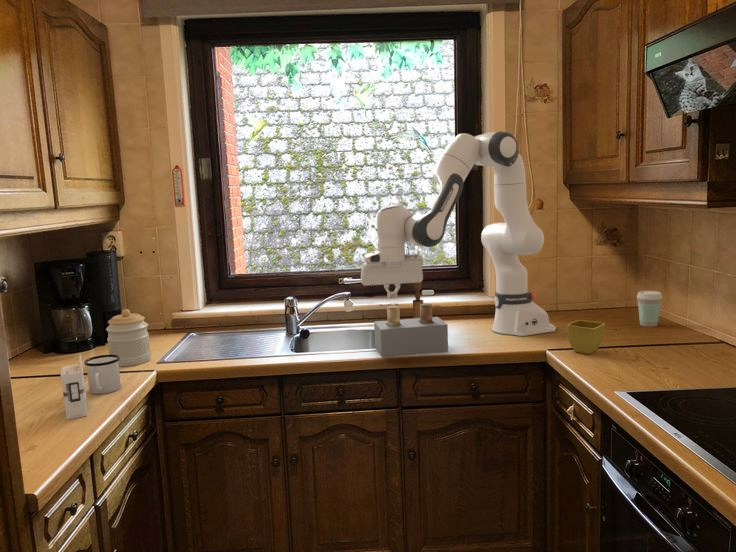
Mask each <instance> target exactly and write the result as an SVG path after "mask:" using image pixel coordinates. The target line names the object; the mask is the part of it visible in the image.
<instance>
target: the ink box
mask: <svg viewBox="0 0 736 552" xmlns="http://www.w3.org/2000/svg"><path fill="white" fill-rule="evenodd" d="M81 353H82V352H81ZM81 353H79V358H78V360H79V361H78V362H79V364H71V365H65V366H62V367H61V371H60V381H61V387H62V395H63V402H64V403H63V404H64V411H65V418H66V419H65V420H67V421H68V420H72V419H78V418H79V419H80V418H83V417H84V418H85V417H87V416H88V402H87V400H88V399H87V394H86V393H87V392H86V385H85V383H86V382H85V377H84V369H83V367H84V366H83V361H82V356H81Z"/></svg>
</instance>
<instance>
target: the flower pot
mask: <svg viewBox="0 0 736 552" xmlns="http://www.w3.org/2000/svg"><path fill="white" fill-rule="evenodd" d="M566 326H567V334H568V341H569V343H570V347H571V348H572V349H573V351H574V352H576V353H579V354H585V355H586V354H587V355H591V354H592V353H595V352H597V351H598V349H599V348H600V346H601V345H602V341H603V338H604V334H605V329H606V328H605V326H606V323H605V322H600V321H591V320H584V319H577V320H575V321H573V322H570V323H568V324H567V325H566Z"/></svg>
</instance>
